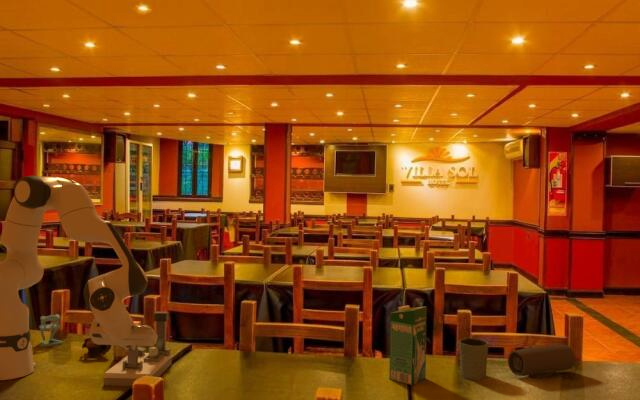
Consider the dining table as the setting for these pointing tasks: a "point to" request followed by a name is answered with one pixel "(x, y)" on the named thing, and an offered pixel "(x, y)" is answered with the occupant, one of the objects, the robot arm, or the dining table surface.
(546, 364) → the bluetooth speaker
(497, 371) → the dining table surface
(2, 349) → the robot arm
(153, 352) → the push button
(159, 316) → the lever black
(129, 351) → the lever orange
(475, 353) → the grey cup
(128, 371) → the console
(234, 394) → the dining table surface
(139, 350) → the block
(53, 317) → the chair
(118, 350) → the sauce bottle
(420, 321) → the milk carton
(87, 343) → the pottery mug
